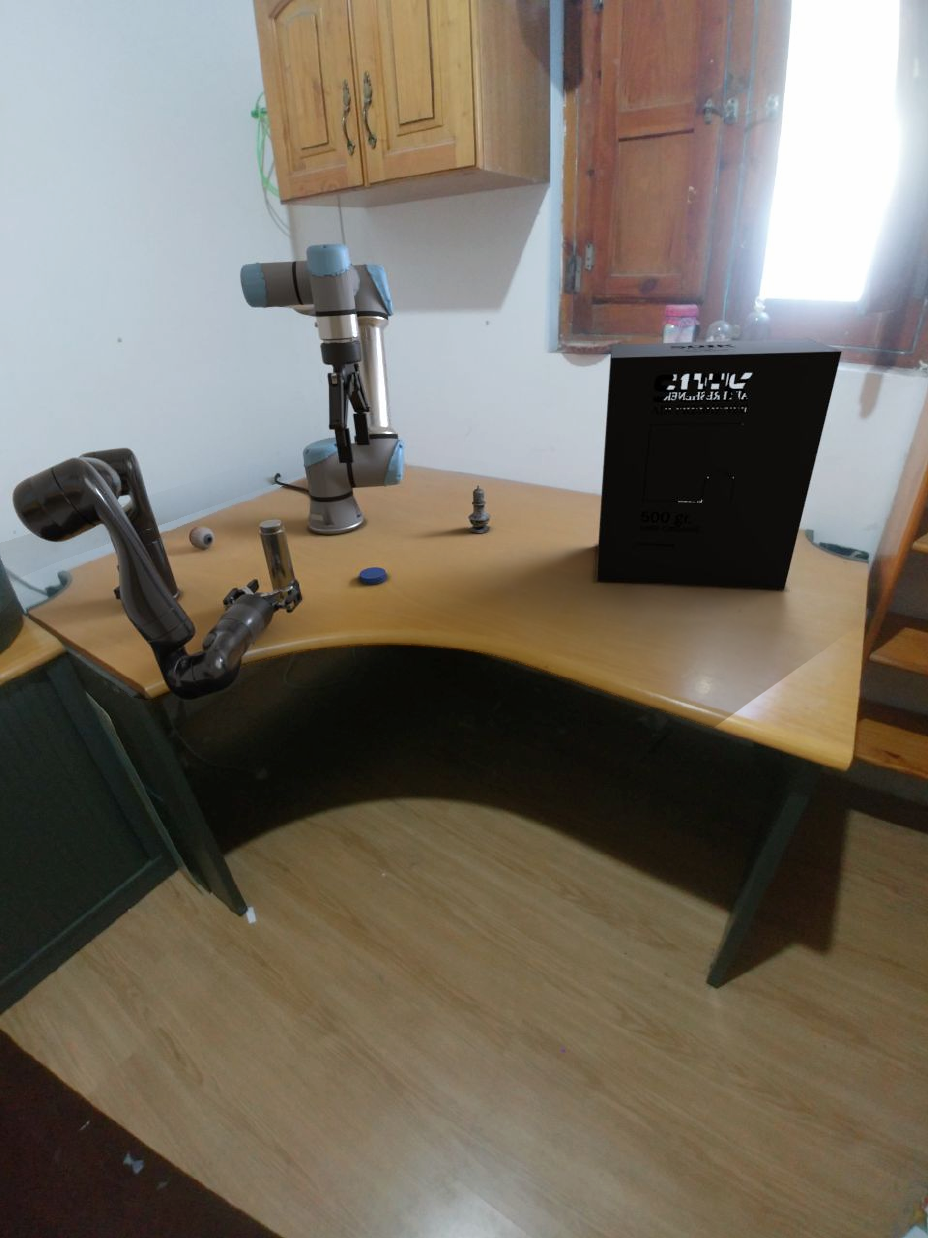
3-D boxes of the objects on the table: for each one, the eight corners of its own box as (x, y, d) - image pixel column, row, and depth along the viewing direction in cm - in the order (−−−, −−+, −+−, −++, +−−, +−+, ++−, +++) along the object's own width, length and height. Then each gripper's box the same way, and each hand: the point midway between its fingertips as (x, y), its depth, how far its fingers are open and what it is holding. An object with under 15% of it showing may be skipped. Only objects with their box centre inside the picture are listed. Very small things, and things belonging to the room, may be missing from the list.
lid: (391, 576, 139) (391, 570, 138) (375, 587, 135) (374, 580, 134) (371, 571, 142) (370, 565, 141) (354, 581, 138) (353, 575, 137)
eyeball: (203, 554, 156) (196, 532, 153) (187, 550, 159) (181, 528, 156) (222, 546, 160) (216, 524, 157) (206, 542, 163) (200, 521, 160)
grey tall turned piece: (488, 533, 158) (487, 489, 152) (466, 533, 159) (464, 488, 153) (492, 525, 163) (491, 481, 157) (471, 524, 164) (469, 481, 158)
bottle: (271, 602, 131) (252, 525, 122) (288, 592, 134) (271, 517, 125) (286, 607, 128) (268, 529, 119) (304, 597, 132) (288, 521, 123)
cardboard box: (763, 549, 141) (808, 338, 118) (784, 589, 124) (841, 351, 101) (598, 544, 148) (611, 344, 126) (596, 581, 131) (611, 357, 109)
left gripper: (276, 604, 109) (306, 566, 123) (202, 604, 110) (239, 566, 124) (285, 640, 112) (312, 599, 126) (212, 639, 114) (247, 598, 128)
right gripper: (338, 334, 125) (353, 438, 135) (298, 349, 103) (319, 471, 114) (374, 333, 124) (386, 437, 134) (340, 347, 102) (357, 470, 113)
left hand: (276, 583), depth 125 cm, fingers open, 8 cm apart
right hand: (355, 453), depth 124 cm, fingers open, 13 cm apart
